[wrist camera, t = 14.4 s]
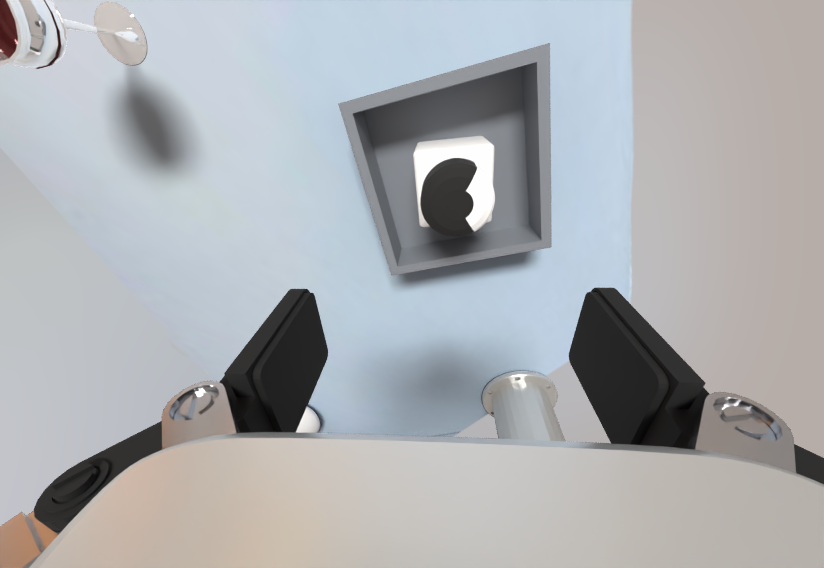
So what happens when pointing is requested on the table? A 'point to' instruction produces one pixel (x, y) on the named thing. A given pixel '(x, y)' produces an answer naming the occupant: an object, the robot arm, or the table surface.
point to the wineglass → (64, 33)
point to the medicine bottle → (454, 184)
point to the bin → (456, 118)
